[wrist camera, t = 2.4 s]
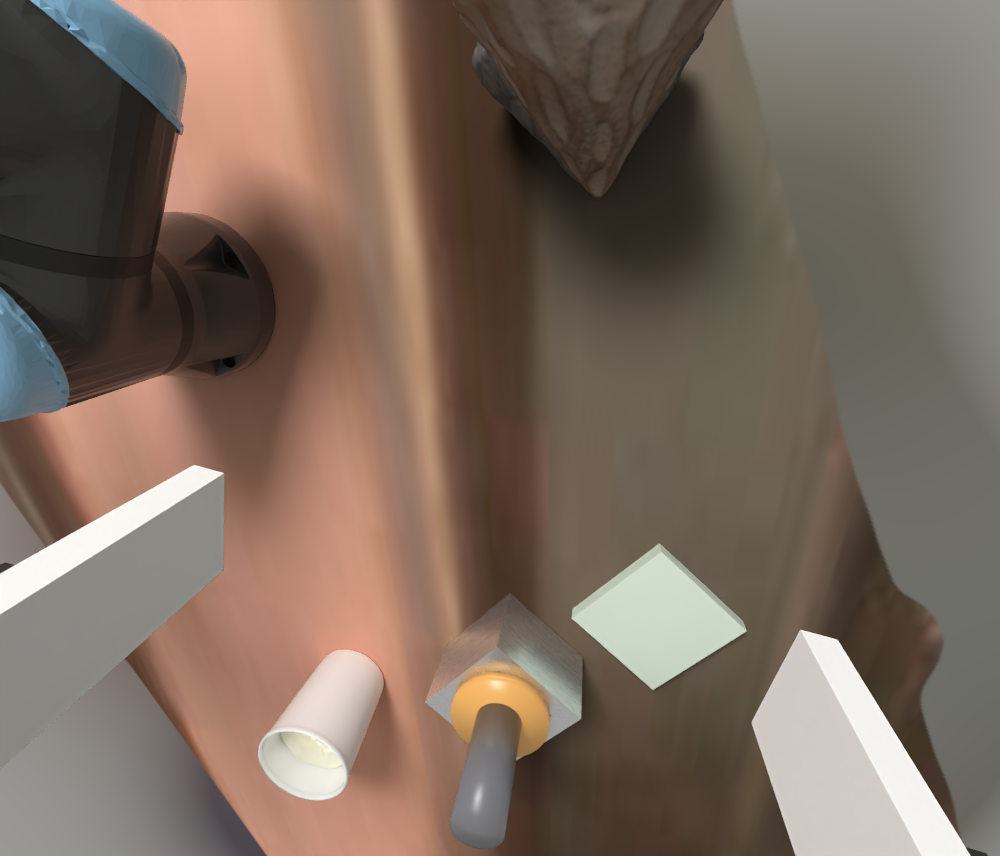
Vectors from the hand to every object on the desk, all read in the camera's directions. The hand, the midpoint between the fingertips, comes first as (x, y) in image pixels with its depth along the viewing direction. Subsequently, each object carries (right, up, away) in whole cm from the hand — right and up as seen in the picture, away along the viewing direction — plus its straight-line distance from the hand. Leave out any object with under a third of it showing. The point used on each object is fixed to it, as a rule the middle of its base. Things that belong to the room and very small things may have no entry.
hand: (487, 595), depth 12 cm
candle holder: (-18, -27, +53) cm, 62 cm away
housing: (+2, -21, +47) cm, 51 cm away
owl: (+7, +28, +28) cm, 41 cm away
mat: (+16, -15, +42) cm, 48 cm away
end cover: (+1, -22, +45) cm, 50 cm away
